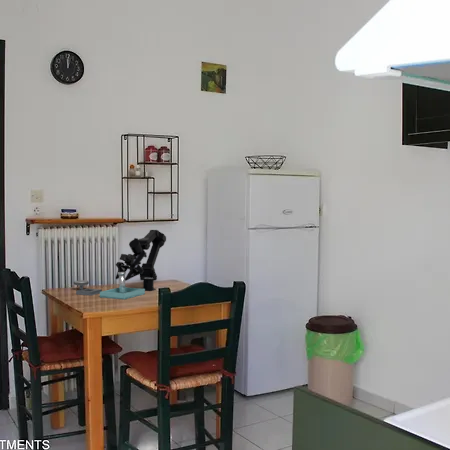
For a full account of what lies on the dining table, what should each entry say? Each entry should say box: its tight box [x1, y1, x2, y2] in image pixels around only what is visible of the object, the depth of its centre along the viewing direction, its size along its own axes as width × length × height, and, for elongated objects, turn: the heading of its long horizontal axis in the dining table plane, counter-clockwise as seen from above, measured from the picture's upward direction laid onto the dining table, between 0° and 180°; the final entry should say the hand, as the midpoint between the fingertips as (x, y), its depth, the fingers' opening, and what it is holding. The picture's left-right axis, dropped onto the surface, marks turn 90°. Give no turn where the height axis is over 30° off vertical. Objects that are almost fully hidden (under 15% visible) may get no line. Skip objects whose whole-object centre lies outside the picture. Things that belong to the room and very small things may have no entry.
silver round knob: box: [73, 279, 90, 290], centre depth 336 cm, size 9×9×5 cm
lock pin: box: [117, 271, 127, 293], centre depth 315 cm, size 4×4×12 cm
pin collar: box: [75, 288, 103, 296], centre depth 322 cm, size 10×10×2 cm
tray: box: [99, 286, 146, 300], centre depth 315 cm, size 20×16×3 cm
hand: (120, 279), depth 314 cm, fingers open, 8 cm apart
